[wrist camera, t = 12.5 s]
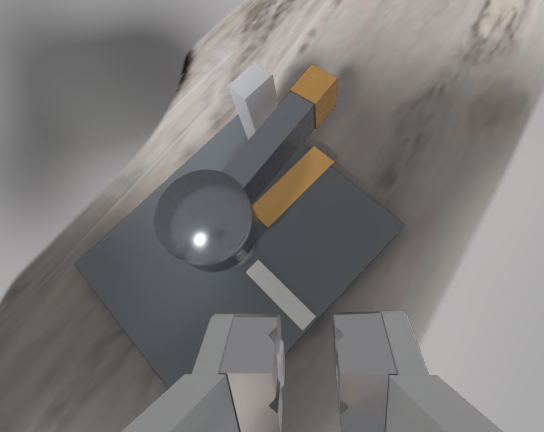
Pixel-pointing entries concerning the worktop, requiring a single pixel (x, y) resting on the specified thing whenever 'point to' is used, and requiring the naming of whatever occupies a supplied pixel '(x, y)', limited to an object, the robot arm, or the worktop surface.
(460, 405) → the robot arm
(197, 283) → the board
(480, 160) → the worktop surface
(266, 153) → the grey sphere and rod
